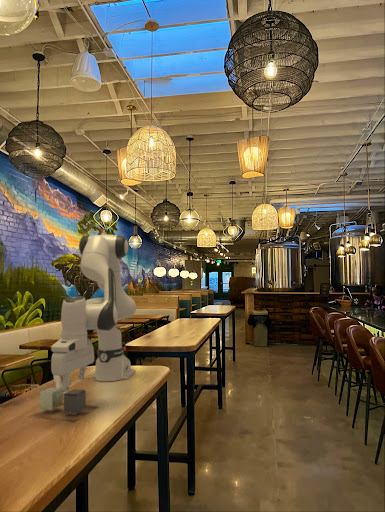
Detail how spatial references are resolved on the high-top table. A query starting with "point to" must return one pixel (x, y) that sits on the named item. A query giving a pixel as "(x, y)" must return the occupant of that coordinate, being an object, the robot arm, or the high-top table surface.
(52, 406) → the pale green block
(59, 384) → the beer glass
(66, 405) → the dark grey paneled cube
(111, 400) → the high-top table surface
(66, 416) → the walnut board
